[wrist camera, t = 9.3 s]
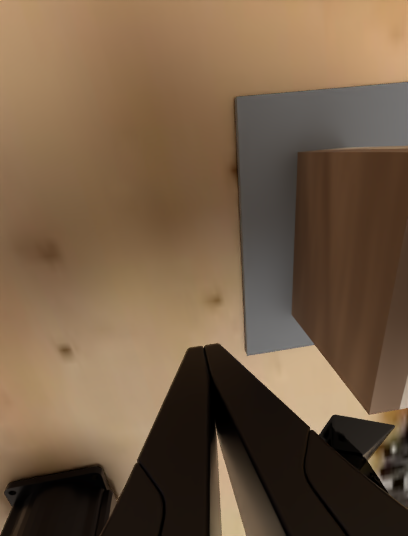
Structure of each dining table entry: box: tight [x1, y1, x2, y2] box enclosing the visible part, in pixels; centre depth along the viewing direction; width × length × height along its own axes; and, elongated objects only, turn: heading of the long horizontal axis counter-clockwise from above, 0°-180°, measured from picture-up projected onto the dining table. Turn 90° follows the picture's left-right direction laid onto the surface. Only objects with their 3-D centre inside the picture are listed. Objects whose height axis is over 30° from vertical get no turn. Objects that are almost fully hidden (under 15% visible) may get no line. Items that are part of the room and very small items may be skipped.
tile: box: [291, 146, 408, 415], centre depth 12 cm, size 2×9×7 cm, turn 5°
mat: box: [235, 82, 408, 356], centre depth 16 cm, size 14×14×1 cm
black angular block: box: [319, 415, 395, 493], centre depth 22 cm, size 13×8×5 cm, turn 159°
